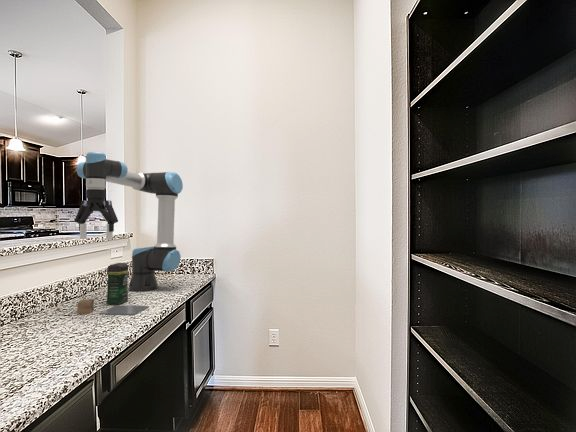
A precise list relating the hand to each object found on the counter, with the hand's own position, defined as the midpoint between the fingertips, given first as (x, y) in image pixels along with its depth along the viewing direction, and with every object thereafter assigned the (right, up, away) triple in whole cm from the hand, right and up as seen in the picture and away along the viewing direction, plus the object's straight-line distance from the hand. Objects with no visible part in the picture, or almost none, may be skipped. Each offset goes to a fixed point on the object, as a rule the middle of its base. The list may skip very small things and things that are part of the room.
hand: (96, 239), depth 155 cm
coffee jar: (+1, -31, +17) cm, 35 cm away
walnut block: (-4, -31, -1) cm, 31 cm away
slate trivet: (+11, -31, +2) cm, 33 cm away
